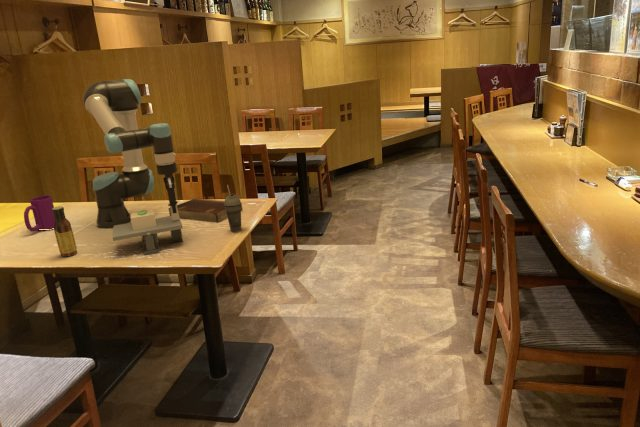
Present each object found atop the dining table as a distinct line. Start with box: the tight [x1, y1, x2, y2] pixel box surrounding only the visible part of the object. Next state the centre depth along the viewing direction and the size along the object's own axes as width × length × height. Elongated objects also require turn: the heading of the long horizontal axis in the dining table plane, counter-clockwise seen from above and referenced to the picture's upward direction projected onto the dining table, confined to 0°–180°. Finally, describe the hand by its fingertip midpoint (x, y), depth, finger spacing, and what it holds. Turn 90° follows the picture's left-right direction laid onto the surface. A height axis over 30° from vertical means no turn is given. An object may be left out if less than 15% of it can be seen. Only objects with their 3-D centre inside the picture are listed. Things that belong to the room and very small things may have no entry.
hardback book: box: [168, 198, 243, 224], centre depth 244 cm, size 29×19×5 cm, turn 62°
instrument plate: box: [112, 209, 184, 242], centre depth 205 cm, size 26×16×8 cm, turn 110°
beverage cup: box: [223, 184, 242, 233], centre depth 215 cm, size 7×7×20 cm
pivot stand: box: [141, 229, 184, 256], centre depth 209 cm, size 16×22×7 cm
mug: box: [23, 195, 55, 232], centre depth 236 cm, size 9×16×15 cm, turn 163°
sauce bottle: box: [52, 205, 78, 257], centre depth 201 cm, size 7×6×20 cm
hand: (175, 219), depth 209 cm, fingers closed
